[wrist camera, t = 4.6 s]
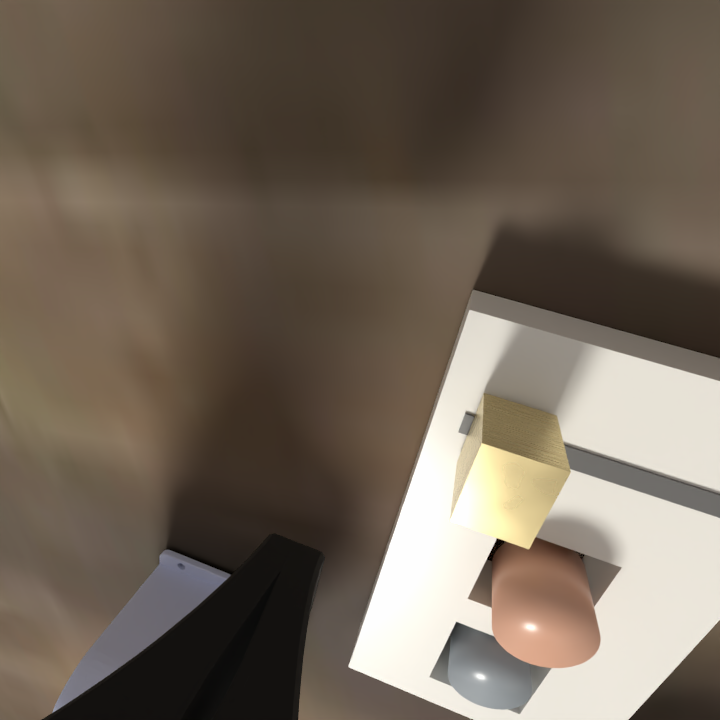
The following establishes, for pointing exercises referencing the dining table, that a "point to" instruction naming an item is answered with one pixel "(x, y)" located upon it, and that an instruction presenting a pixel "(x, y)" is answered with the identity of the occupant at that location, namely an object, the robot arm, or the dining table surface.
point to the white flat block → (563, 512)
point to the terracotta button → (543, 605)
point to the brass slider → (509, 471)
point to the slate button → (487, 670)
